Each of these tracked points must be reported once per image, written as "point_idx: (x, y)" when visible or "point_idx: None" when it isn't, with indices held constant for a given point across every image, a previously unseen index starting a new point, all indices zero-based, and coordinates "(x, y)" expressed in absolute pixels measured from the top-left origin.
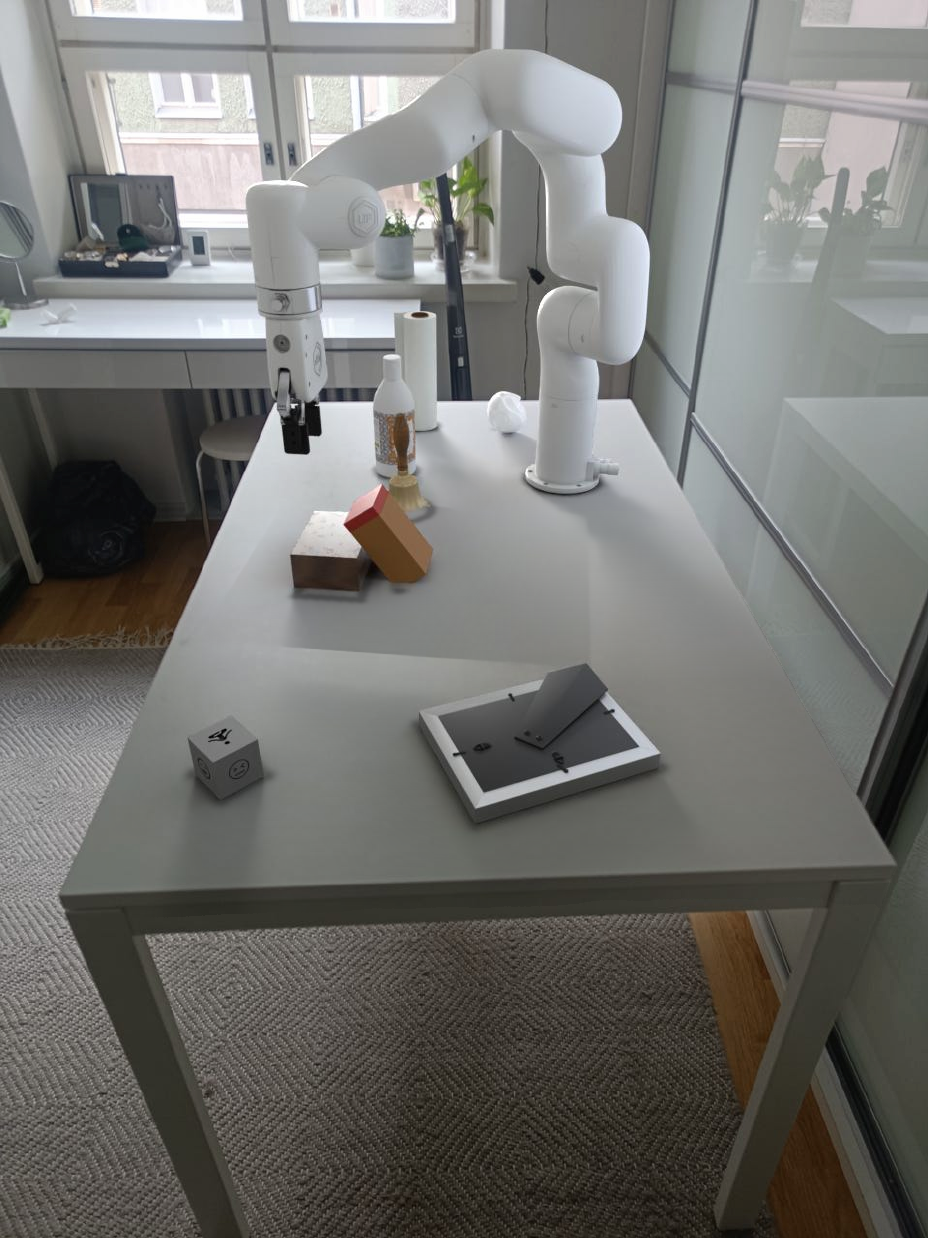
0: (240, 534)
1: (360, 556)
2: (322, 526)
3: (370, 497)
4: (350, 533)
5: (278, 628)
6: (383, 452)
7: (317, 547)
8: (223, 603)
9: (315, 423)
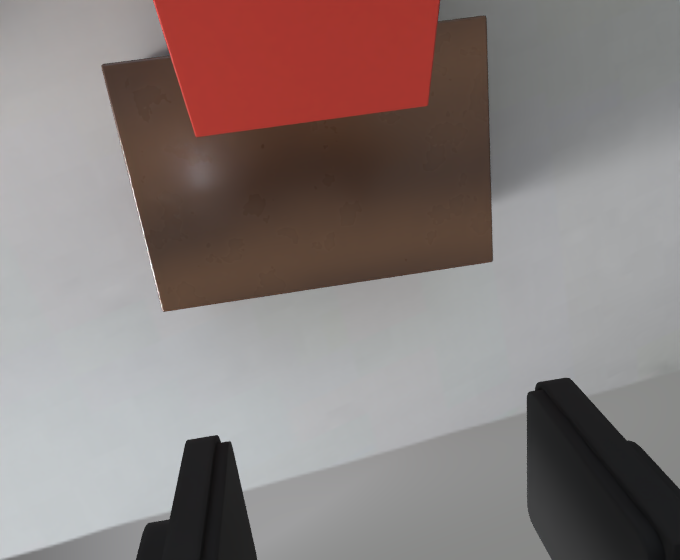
0: (172, 483)
1: None
2: (277, 235)
3: (279, 12)
4: None
5: (599, 196)
6: None
7: (433, 192)
8: (506, 367)
9: (228, 527)
